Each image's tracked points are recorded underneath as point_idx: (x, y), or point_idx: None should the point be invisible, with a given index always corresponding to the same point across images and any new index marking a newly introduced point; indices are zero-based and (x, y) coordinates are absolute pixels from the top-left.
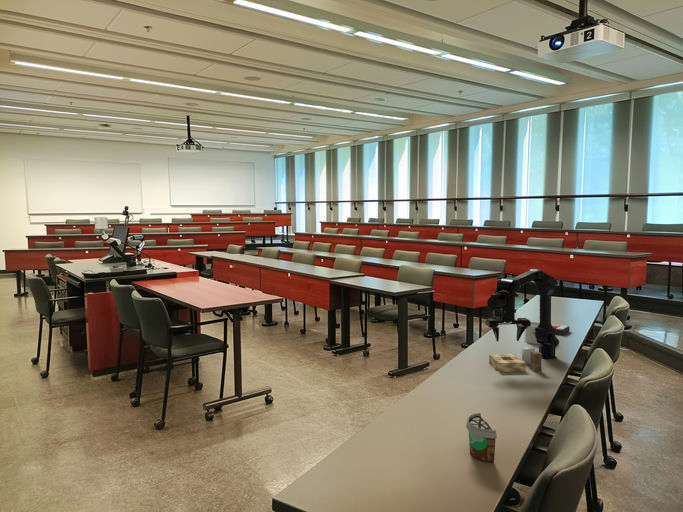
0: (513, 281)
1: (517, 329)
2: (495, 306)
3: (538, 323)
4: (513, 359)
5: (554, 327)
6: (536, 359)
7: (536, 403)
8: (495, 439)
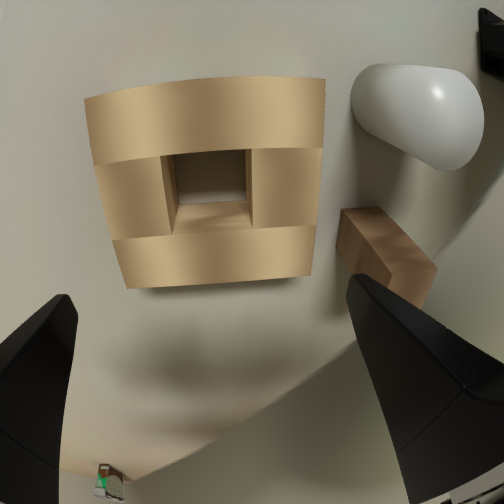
0: None
1: (452, 400)
2: None
3: None
4: (252, 217)
5: None
6: None
7: (208, 429)
8: (123, 495)
